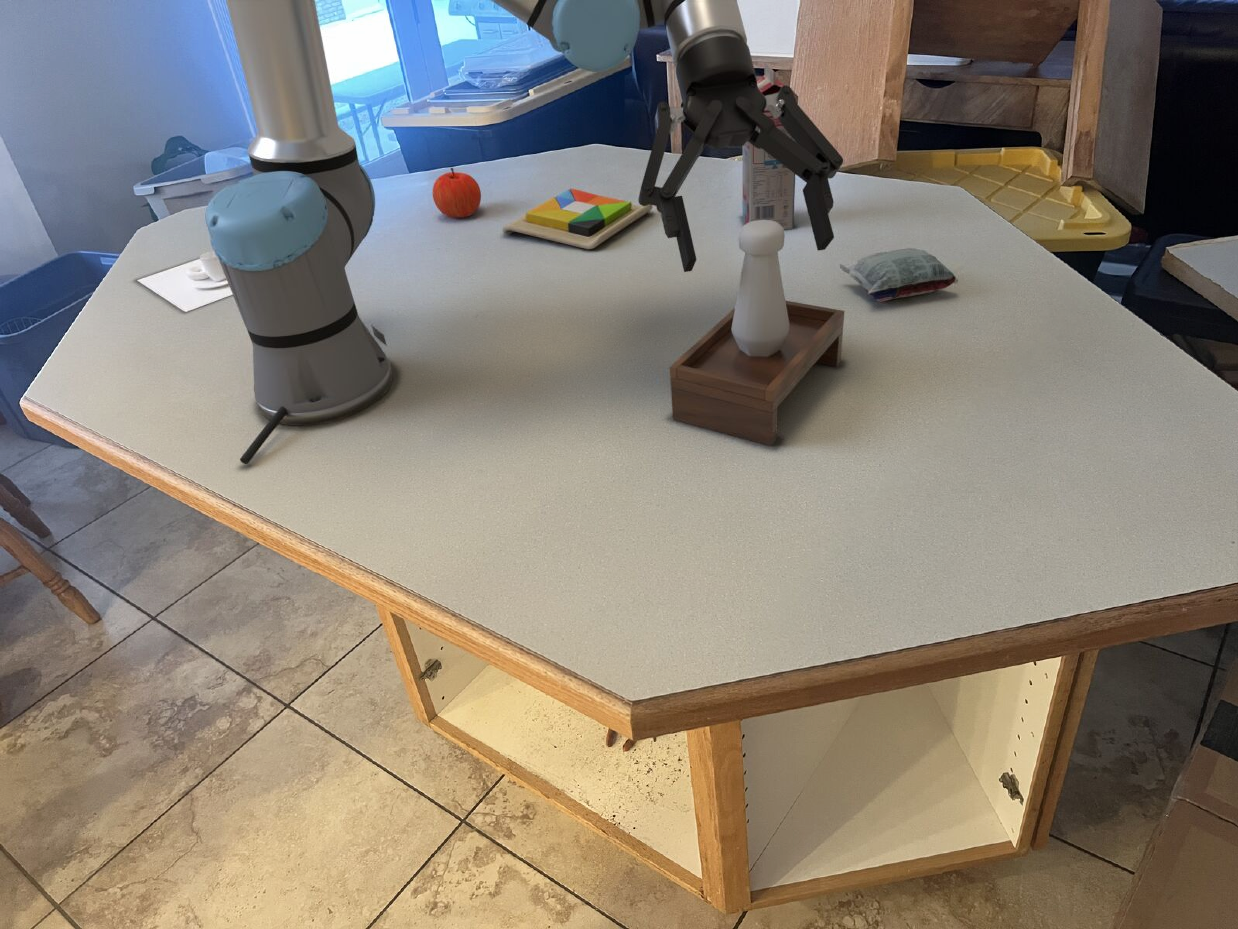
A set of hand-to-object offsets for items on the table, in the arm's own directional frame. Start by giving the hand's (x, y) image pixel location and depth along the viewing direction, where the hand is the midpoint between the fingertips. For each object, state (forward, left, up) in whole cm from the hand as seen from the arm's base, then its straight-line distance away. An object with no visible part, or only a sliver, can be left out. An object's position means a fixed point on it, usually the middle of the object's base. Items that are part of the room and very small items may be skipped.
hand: (758, 255), depth 79 cm
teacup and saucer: (-3, +91, -15) cm, 92 cm away
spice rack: (0, 0, -15) cm, 15 cm away
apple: (+31, +71, -15) cm, 79 cm away
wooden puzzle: (+34, +48, -15) cm, 61 cm away
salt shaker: (0, 0, -10) cm, 10 cm away
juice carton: (+45, +20, -15) cm, 51 cm away
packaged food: (+29, -5, -15) cm, 33 cm away
